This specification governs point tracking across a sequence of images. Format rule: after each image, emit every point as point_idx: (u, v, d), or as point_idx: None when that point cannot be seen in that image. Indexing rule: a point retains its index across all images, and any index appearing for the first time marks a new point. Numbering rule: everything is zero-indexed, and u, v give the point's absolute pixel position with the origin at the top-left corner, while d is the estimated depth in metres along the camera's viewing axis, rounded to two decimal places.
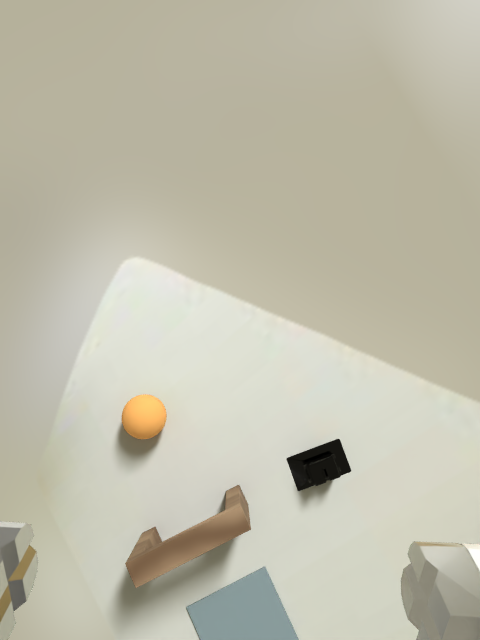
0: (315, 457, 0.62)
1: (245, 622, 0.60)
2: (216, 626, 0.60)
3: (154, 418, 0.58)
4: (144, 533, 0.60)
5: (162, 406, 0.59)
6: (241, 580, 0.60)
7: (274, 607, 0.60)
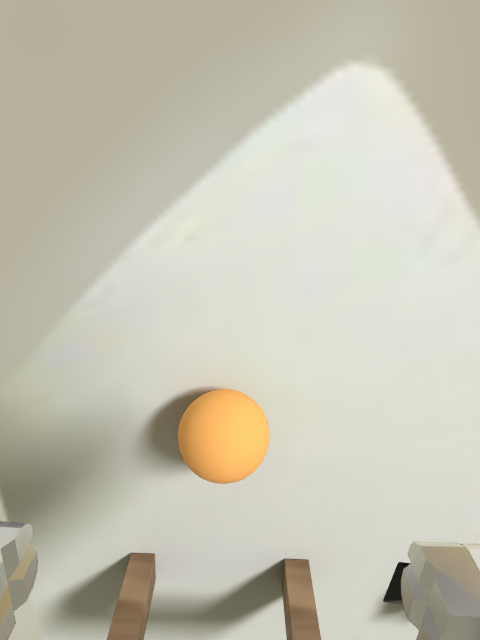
0: None
1: None
2: None
3: (248, 470, 0.27)
4: (134, 560, 0.36)
5: (268, 440, 0.28)
6: None
7: None
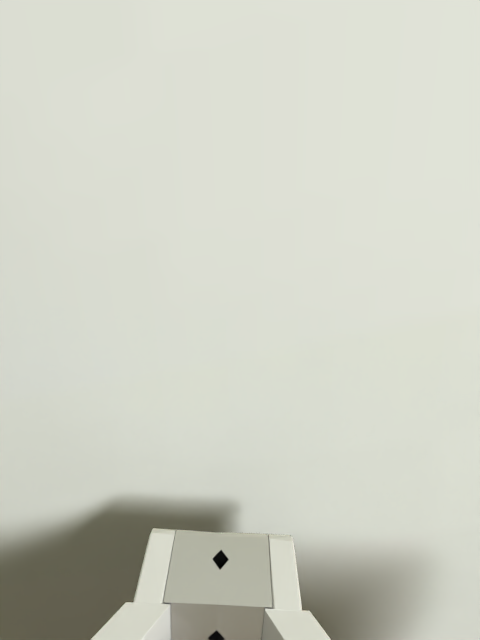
0: None
1: None
2: None
3: None
4: None
5: None
6: None
7: None
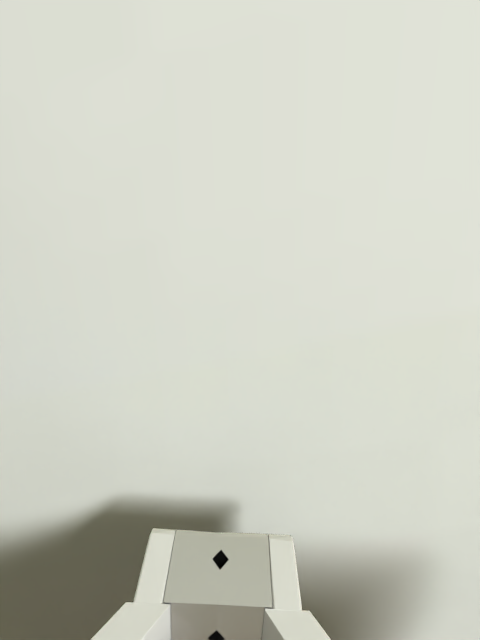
0: None
1: None
2: None
3: None
4: None
5: None
6: None
7: None
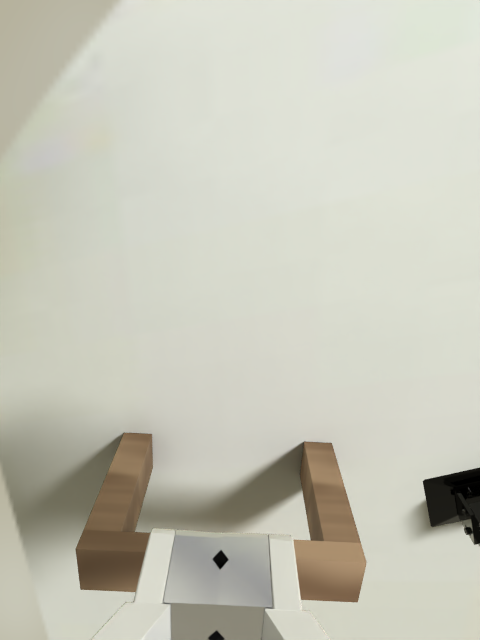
0: None
1: None
2: None
3: None
4: (128, 439, 0.31)
5: None
6: None
7: None
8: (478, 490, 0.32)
